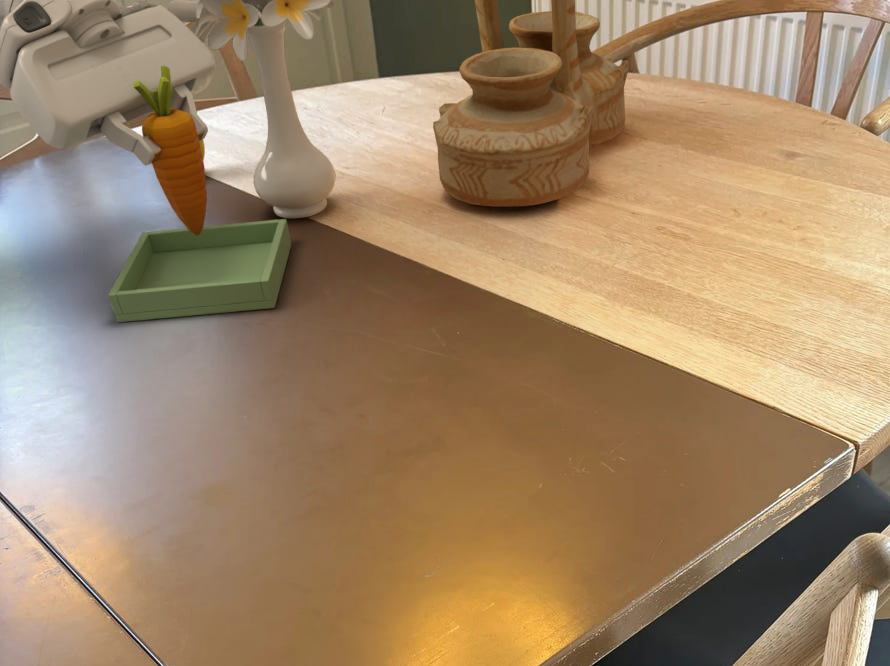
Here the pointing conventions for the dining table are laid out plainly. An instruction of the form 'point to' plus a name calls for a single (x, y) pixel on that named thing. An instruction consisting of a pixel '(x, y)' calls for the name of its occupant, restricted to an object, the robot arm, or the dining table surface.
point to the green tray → (202, 271)
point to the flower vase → (271, 94)
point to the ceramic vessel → (529, 109)
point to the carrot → (176, 154)
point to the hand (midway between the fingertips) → (178, 148)
